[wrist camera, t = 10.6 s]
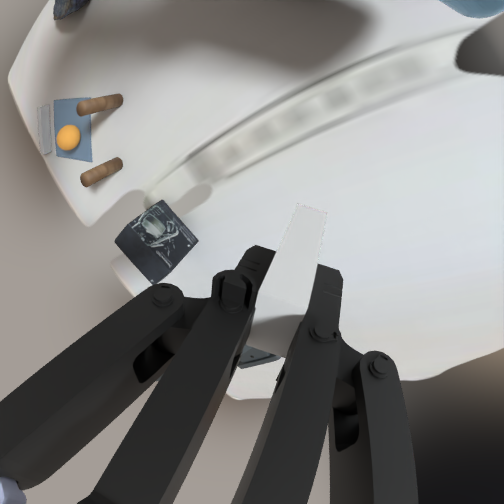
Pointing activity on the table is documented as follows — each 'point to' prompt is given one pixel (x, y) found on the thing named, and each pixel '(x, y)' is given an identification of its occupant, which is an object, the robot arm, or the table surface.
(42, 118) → the wall
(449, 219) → the table surface
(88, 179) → the post
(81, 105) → the post
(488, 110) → the table surface
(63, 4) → the rock
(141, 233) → the box
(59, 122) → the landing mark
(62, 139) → the ball
